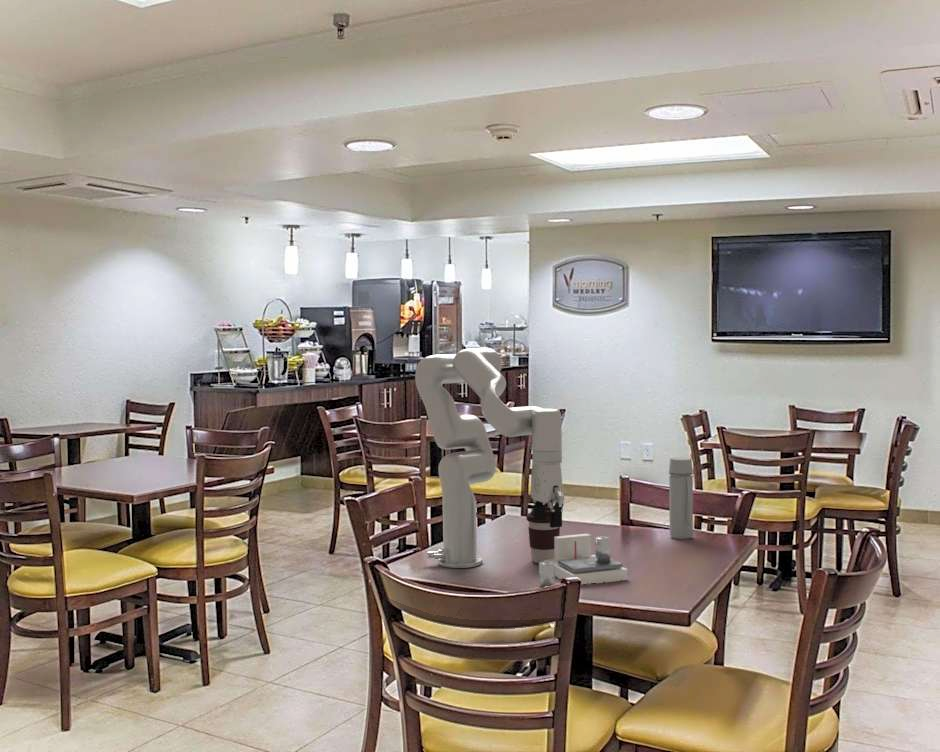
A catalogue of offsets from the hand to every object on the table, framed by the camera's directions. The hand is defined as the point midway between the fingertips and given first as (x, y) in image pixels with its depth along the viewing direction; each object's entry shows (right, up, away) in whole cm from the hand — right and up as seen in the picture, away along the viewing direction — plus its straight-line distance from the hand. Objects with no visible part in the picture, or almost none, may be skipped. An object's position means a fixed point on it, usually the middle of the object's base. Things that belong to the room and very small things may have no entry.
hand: (547, 523), depth 233 cm
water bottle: (+47, -13, +53) cm, 72 cm away
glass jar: (+16, -11, +9) cm, 22 cm away
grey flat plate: (+12, -13, +8) cm, 19 cm away
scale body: (+11, -16, +11) cm, 22 cm away
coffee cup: (+1, -15, +26) cm, 31 cm away
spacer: (0, -16, +1) cm, 16 cm away
